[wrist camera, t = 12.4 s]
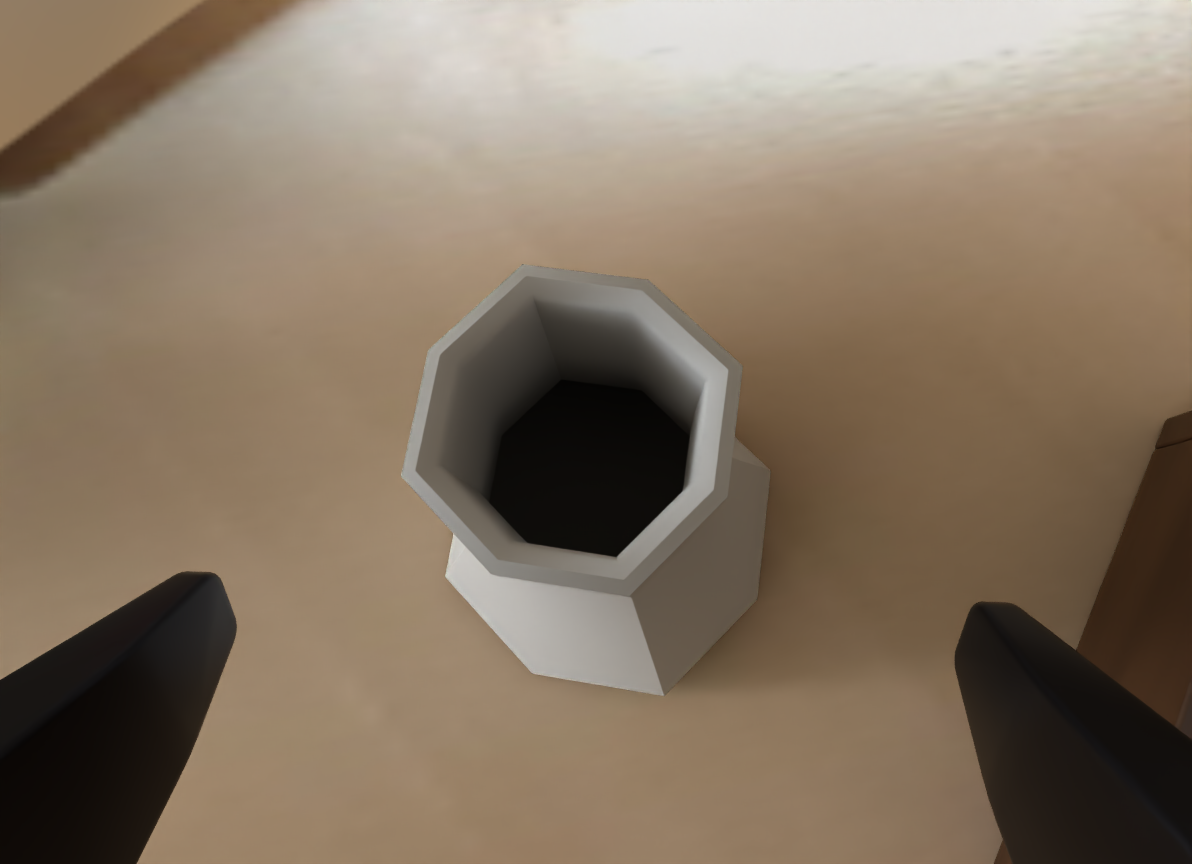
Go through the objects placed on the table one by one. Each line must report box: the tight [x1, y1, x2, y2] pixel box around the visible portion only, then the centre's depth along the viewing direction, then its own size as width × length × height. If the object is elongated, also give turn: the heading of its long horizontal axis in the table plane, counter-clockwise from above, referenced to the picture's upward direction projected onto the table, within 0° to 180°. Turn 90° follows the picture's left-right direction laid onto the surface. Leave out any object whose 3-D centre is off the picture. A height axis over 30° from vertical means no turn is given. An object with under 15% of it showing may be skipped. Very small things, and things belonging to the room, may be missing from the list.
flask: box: [401, 264, 771, 696], centre depth 12 cm, size 7×7×10 cm
